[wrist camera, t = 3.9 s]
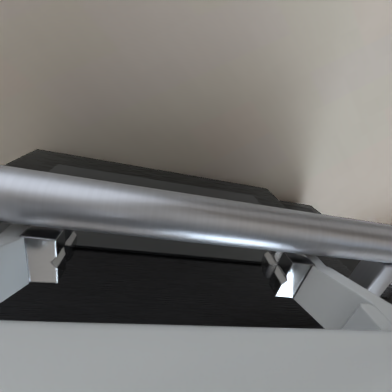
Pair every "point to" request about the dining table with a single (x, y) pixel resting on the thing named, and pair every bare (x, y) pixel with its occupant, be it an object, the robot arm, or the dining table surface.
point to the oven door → (172, 245)
